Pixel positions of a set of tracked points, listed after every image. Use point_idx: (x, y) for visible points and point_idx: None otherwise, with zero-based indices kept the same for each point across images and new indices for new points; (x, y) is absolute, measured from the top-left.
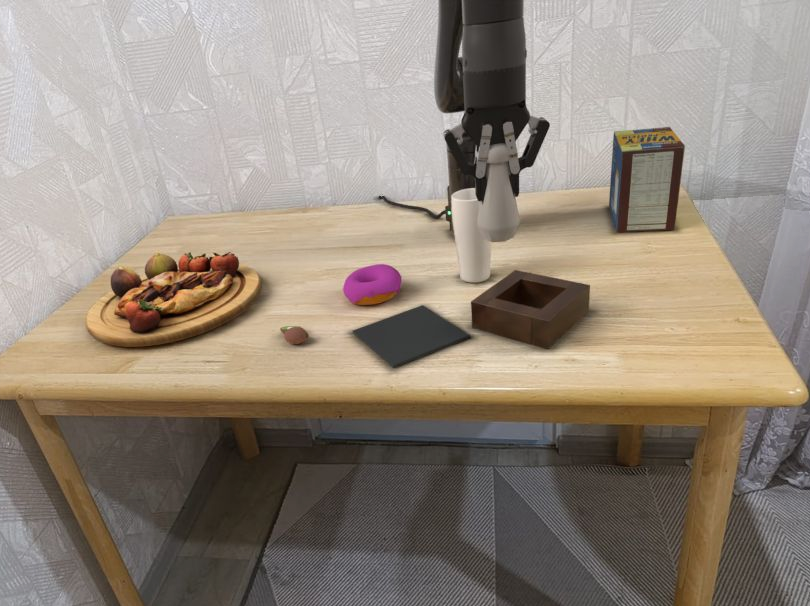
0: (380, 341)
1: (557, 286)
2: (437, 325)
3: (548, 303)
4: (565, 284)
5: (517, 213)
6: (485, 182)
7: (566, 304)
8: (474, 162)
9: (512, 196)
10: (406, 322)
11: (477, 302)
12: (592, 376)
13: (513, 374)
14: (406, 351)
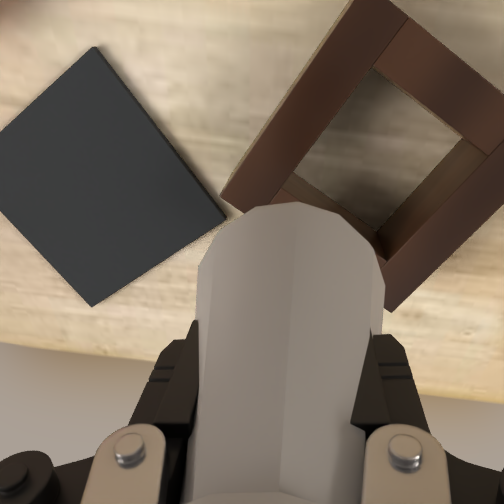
0: (40, 222)
1: (467, 138)
2: (149, 168)
3: (413, 237)
4: (495, 130)
5: None
6: None
7: (455, 248)
8: (82, 502)
9: None
10: (73, 145)
11: (236, 205)
12: (434, 362)
13: None
14: (104, 266)
